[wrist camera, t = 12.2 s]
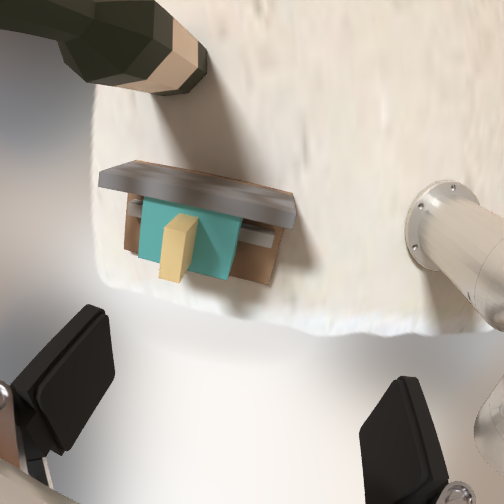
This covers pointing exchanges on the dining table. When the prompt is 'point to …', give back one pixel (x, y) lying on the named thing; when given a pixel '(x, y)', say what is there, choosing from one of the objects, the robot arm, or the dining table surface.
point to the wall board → (211, 198)
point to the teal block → (187, 239)
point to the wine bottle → (114, 41)
